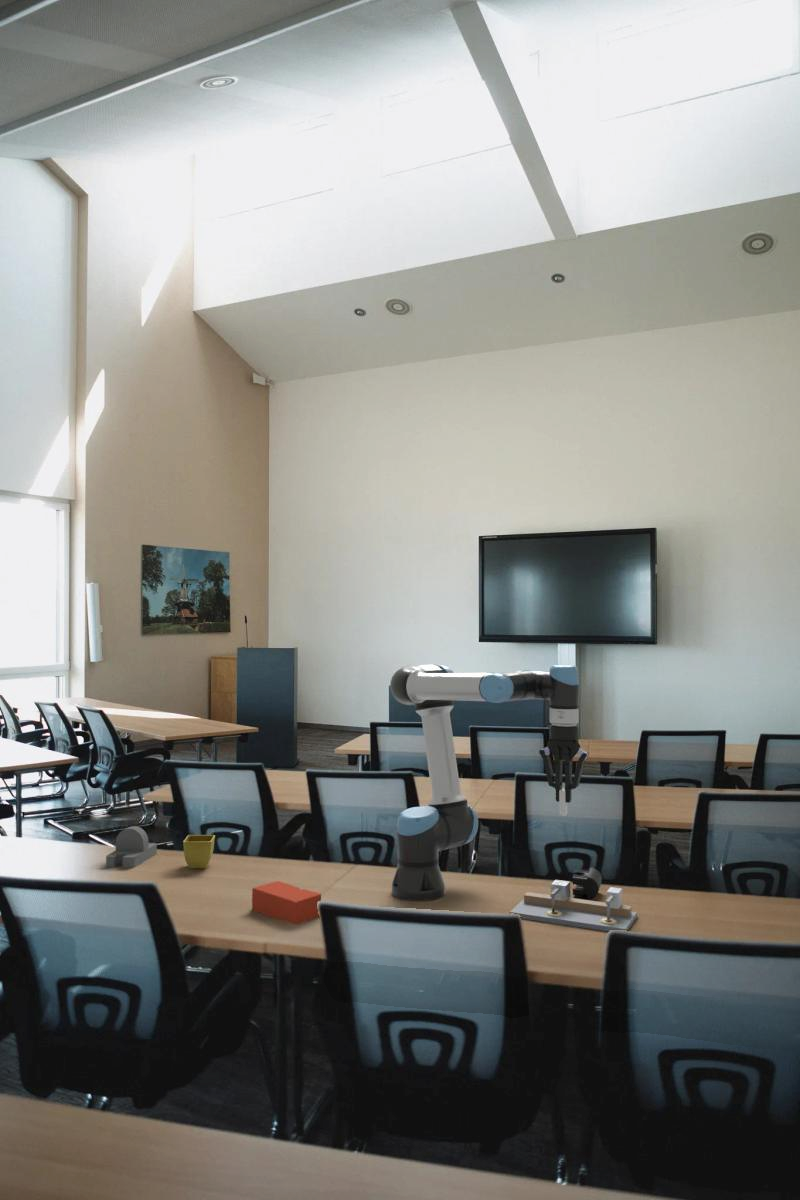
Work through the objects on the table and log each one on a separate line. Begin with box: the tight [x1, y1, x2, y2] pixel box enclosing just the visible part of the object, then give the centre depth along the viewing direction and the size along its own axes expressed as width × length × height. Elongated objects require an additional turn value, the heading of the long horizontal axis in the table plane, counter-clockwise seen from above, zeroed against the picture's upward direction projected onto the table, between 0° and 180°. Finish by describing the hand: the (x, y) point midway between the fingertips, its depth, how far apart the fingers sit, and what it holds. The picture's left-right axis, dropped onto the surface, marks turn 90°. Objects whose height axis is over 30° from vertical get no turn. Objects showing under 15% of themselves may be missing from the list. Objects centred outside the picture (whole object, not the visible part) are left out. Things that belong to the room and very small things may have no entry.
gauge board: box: [509, 886, 638, 932], centre depth 230 cm, size 30×14×7 cm, turn 64°
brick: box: [251, 880, 322, 925], centre depth 234 cm, size 18×9×6 cm, turn 48°
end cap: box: [572, 867, 603, 901], centre depth 247 cm, size 10×7×7 cm
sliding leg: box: [549, 879, 571, 912], centre depth 232 cm, size 4×10×6 cm, turn 154°
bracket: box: [105, 825, 158, 869], centre depth 287 cm, size 10×18×11 cm, turn 171°
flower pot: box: [182, 834, 216, 869], centre depth 278 cm, size 9×9×9 cm
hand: (563, 814), depth 231 cm, fingers closed
